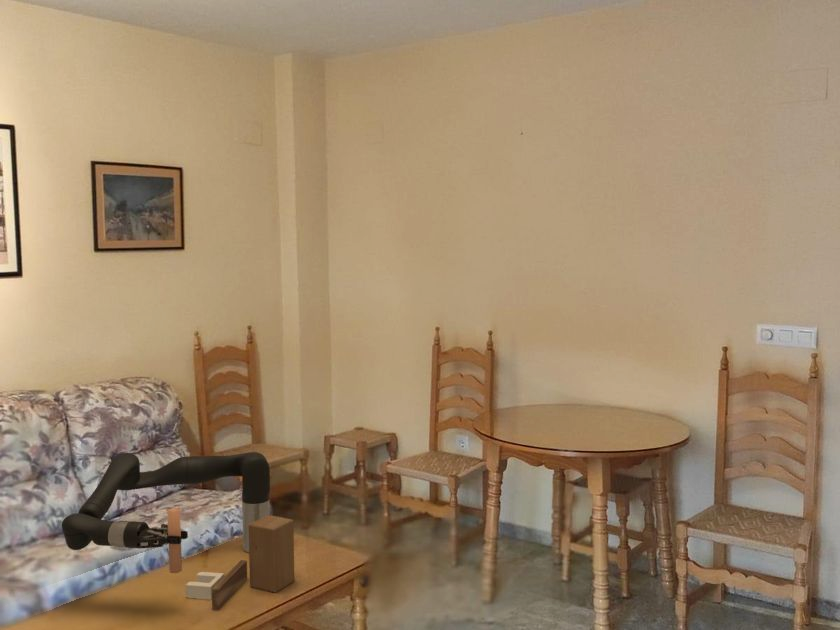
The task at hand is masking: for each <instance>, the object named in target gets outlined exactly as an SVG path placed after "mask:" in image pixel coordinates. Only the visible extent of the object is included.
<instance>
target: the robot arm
mask: <svg viewBox="0 0 840 630" xmlns="http://www.w3.org/2000/svg"><path fill="white" fill-rule="evenodd" d="M269 464H270V463H269V462H268V460H267V458H266V456H264V455H263V454H262V453H260V452H257V451H251V452H244V453H238V454H230V455H196V456H195V455H193V456H191V455H189V456H180V457H178V458H176V459H173V460H172V461H170V462H168V463H167V464H165V465H163V466H161V467H159V468H158V469H154V470H148V471H141V464H140V460H139V457H138V456H137V455H136V454H134V453H131V452H122V453H120V454H117V455H116V456H114V457H113V458H112V460H111V461H110V463H109V465H108V467H107V469H106V471H105V473H104V474H103V476H102V478H101V480H99V483H98V485H97V486H96V488H95V489H94V490H93V491H92V493H91V494H90V496H89V497H88V498H87V499H86V500H85V502H84V503H83V505H82V506H81V507H80V508H79V510H78V513H76V512H75V513H72V514H70V515H68V516H67V515H66V517H65V518H64V519H63V521H62V522H61V530H62V533H63V536H64V540H65V544H66V545H67V548H69V549H70V550H71V551H72V550H73V551H80V550H83V549H85V548H87V546H89V545H90V543H92V542H93V543H94V544H95V545H96V546H97V545H98V546H103V547H104V546H105V547H114V548H123V549H152V548H153V549H154V548H162V547H164V546H167V545H168V544H180V543H181V544H182V540H186V539H188V537H189V536H188V531H187V530H181V536H170V535H169V536H168V524H166V523H162V524H160V527H157V526H152V527H150V526H149V525H148V523H147V522H145V521H132V520H131V521H130V520H129V521H128V520H119V521H116V520H115V521H114V520H103V519H104V517H105V515H106V514H107V513H108V512H109V510H110V508H111V506H112V504H113V502H114V500H115V498H116V497H115V496H116V494H117V492H118V491H134V490H141V489H147V488H155V487H164V486H174V485H175V486H177V485H197V484H203V483H204V484H205V483H208V482H211V481H215V480H218V479H222V478H225V477H226V478H227V477H241V478H242V482H241V483H242V491H241V507H242V508H241V510H242V515H241V516H242V549H243V551H244V552H246V553H249V524H251V523H253V522H255V521H257V520H259V519H261V518H263V517H265V516H267V515H270V491H271V486H270V485H271V475H270V474H271V472H270V471H271V470H270V465H269ZM163 545H164V546H163Z"/></svg>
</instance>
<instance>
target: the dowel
mask: <svg viewBox="0 0 840 630" xmlns="http://www.w3.org/2000/svg"><path fill="white" fill-rule="evenodd" d="M166 511H167V512H166V514H167V515H166V517H167V525H168V536H169V535H170V536H181V531H182V529H181V528H182V527H181V509H180V508H178V507H172V508H170V509H167V510H166ZM167 545H168V565H169V567H168V568H169V569H168V570H169V573H170V574H178V573H181V572H182V571H183V560H182V559H183V556H182V542H181V543H180V544H167Z"/></svg>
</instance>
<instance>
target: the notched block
mask: <svg viewBox="0 0 840 630" xmlns="http://www.w3.org/2000/svg"><path fill="white" fill-rule="evenodd" d="M195 576H196V581H189V582H187V583H186V584H185V598H186V597H188V598H187V599H193V598H196V599H195V600H209V601H212V589H213V588H214V587H215V586H216V585H217V584H218V583H219V582H220V581H221V580H222V579H223V578H224V577H225V573H223V572H210V571H209V572H207V571H200V572H198V573H197V574H196V575H195Z"/></svg>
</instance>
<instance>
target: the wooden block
mask: <svg viewBox="0 0 840 630" xmlns="http://www.w3.org/2000/svg"><path fill="white" fill-rule="evenodd" d="M294 533H295V532H294V519H291V518H285V517H281V516H275V515H272V514H271V515H267V516H265V517H263V518H261V519H259V520H257V521H255V522H253V523H251V524H249V552H248V554H249V555H248V558H249V559H248V560H249V563H248V564H249V587H251V588H254V589H258V590H262V591H266V592H271V593H277V592H279V591H280V590H282V589H284V588H286V587H287V586H289V585H290V584H292V583H294V582H295V542H294V541H295V540H294V539H295V538H294V535H295V534H294Z"/></svg>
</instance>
